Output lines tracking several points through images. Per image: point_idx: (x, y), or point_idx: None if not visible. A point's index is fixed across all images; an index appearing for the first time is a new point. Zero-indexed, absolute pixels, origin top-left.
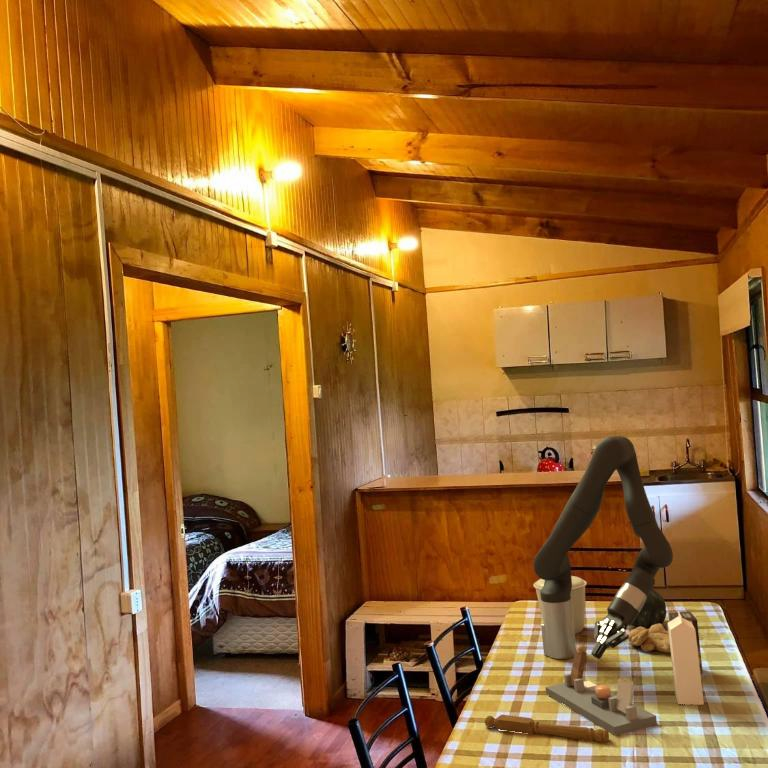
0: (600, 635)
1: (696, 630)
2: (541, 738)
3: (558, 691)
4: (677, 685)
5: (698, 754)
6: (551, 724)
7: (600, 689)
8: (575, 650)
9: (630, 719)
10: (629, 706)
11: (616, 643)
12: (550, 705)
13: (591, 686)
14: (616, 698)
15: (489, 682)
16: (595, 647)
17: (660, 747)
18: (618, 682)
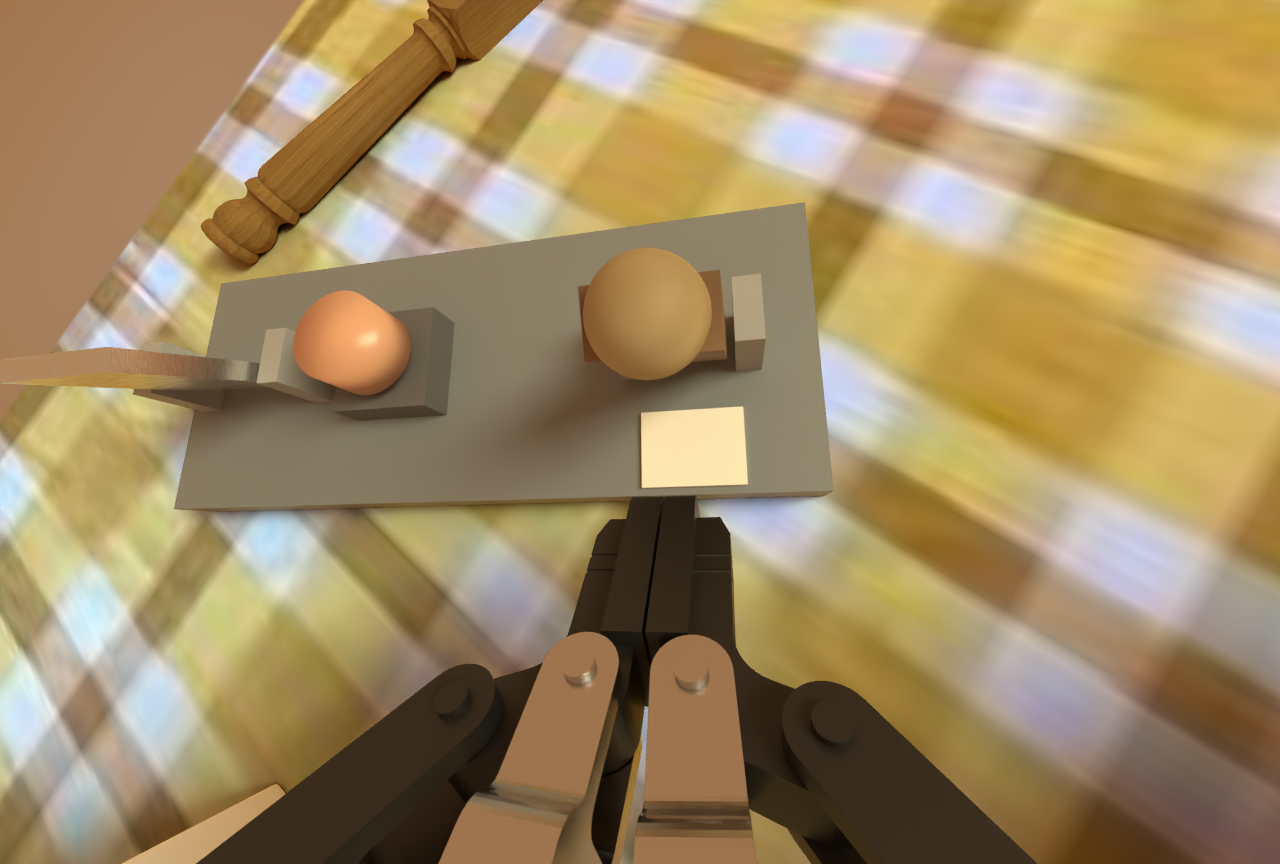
0: (710, 781)
1: None
2: None
3: (695, 241)
4: (144, 853)
5: (5, 472)
6: (380, 73)
7: (319, 306)
8: (715, 274)
9: None
10: None
11: (407, 826)
12: (650, 198)
13: (643, 444)
14: (253, 362)
15: (1183, 4)
16: (671, 556)
17: (108, 392)
18: (139, 351)
